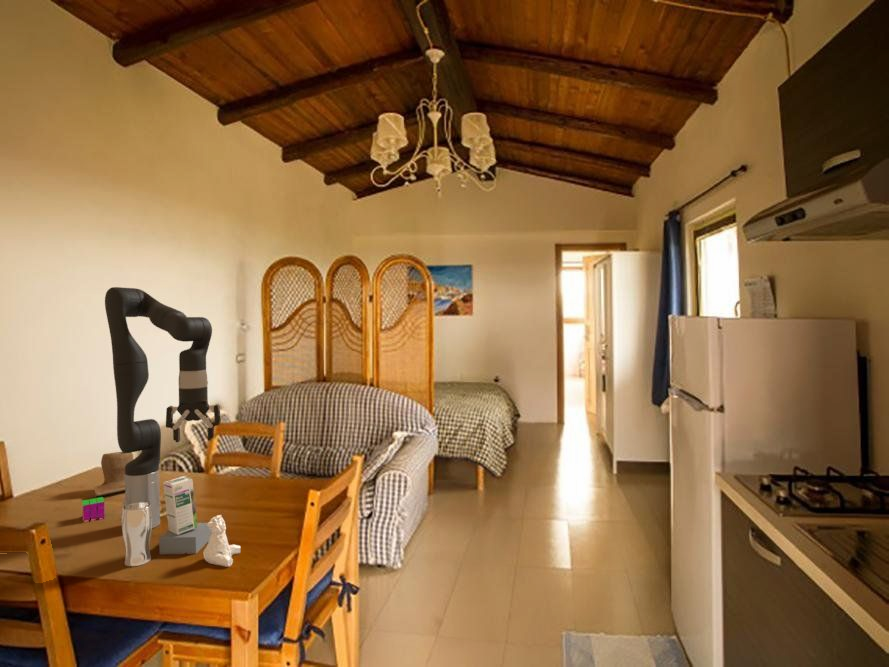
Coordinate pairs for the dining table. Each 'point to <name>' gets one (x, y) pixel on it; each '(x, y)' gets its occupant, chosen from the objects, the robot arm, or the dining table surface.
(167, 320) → the robot arm
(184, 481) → the syrup box
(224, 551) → the white creature statuette
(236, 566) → the dining table surface
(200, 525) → the grey block
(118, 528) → the dining table surface
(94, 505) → the puzzle toy
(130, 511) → the beer glass
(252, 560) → the dining table surface
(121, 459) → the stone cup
